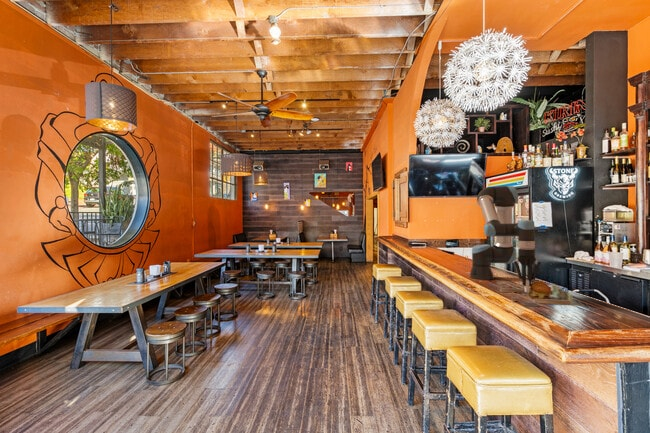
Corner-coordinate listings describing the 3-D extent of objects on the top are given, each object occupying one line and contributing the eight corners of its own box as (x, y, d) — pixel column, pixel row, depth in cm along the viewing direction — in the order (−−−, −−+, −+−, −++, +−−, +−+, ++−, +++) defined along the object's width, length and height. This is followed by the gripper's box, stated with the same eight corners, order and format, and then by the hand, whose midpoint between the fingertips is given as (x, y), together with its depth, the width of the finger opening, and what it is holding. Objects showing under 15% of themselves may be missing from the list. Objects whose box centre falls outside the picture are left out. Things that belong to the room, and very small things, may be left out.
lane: (500, 291, 177) (500, 283, 177) (553, 293, 170) (553, 285, 170) (512, 301, 157) (512, 292, 157) (572, 304, 150) (572, 294, 150)
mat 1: (518, 289, 181) (518, 289, 181) (531, 290, 179) (531, 290, 179) (521, 292, 175) (521, 292, 175) (535, 292, 173) (535, 292, 173)
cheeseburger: (541, 294, 169) (544, 278, 167) (554, 304, 159) (557, 287, 156) (522, 294, 170) (525, 278, 167) (534, 304, 159) (537, 287, 157)
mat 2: (519, 302, 156) (519, 302, 156) (534, 303, 154) (534, 302, 154) (523, 305, 150) (523, 305, 150) (539, 306, 148) (539, 306, 148)
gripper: (515, 249, 162) (515, 292, 163) (543, 249, 159) (543, 294, 159) (510, 247, 170) (511, 289, 170) (537, 248, 166) (537, 290, 166)
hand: (526, 291), depth 164 cm, fingers closed
